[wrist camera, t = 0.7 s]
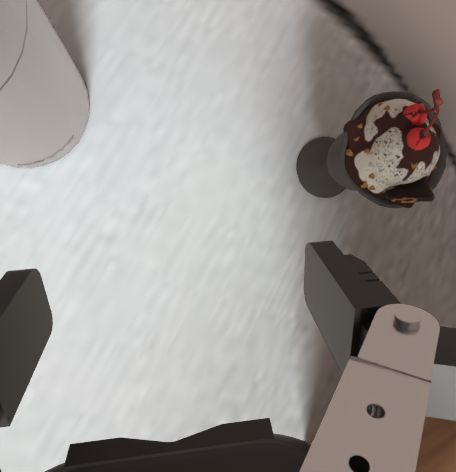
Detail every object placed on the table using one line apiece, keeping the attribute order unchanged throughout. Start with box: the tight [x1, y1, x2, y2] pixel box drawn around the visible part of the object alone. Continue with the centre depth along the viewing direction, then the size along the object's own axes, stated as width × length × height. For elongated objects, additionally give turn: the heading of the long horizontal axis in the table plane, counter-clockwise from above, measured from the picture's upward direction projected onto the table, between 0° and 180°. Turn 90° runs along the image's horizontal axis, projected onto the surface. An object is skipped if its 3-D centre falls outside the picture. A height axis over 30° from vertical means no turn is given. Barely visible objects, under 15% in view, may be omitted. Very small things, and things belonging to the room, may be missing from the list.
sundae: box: [297, 89, 446, 208], centre depth 26 cm, size 7×7×15 cm
